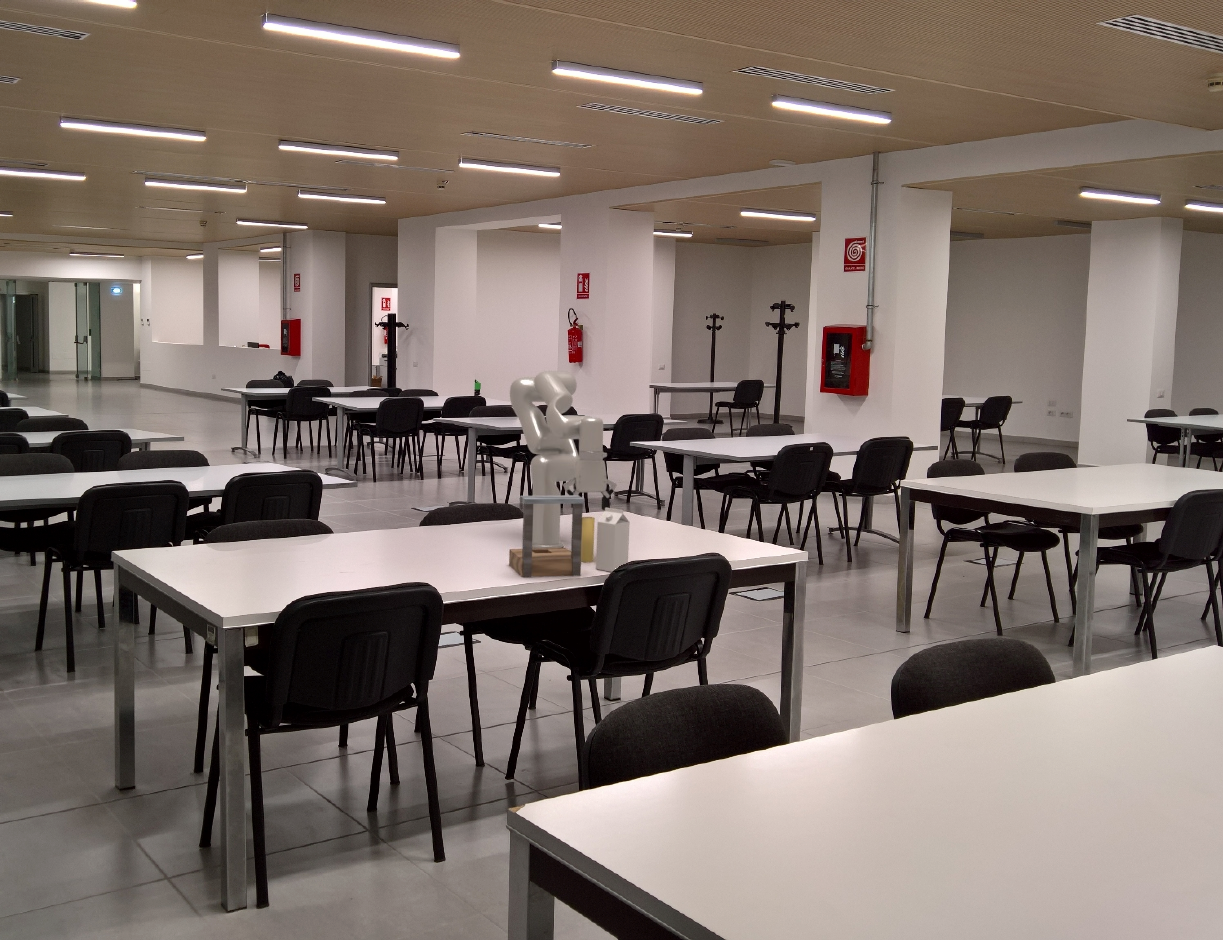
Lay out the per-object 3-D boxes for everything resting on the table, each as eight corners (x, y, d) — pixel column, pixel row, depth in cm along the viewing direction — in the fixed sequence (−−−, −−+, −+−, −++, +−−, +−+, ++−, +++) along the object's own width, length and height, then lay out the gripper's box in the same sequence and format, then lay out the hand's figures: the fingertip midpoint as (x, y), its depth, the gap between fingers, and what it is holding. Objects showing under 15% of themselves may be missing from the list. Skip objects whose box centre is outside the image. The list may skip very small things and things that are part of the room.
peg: (579, 559, 360) (580, 516, 359) (591, 559, 361) (592, 516, 360) (582, 562, 356) (584, 518, 355) (594, 562, 358) (596, 518, 356)
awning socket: (509, 564, 348) (511, 490, 346) (565, 563, 354) (567, 489, 351) (523, 577, 330) (525, 499, 327) (581, 576, 335) (584, 498, 333)
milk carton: (610, 566, 352) (612, 506, 350) (627, 569, 347) (630, 509, 345) (595, 569, 346) (597, 508, 344) (613, 572, 342) (615, 511, 340)
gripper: (613, 455, 361) (611, 508, 363) (561, 455, 356) (560, 509, 358) (620, 457, 354) (619, 511, 356) (567, 457, 349) (566, 512, 350)
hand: (589, 510), depth 357 cm, fingers open, 9 cm apart
